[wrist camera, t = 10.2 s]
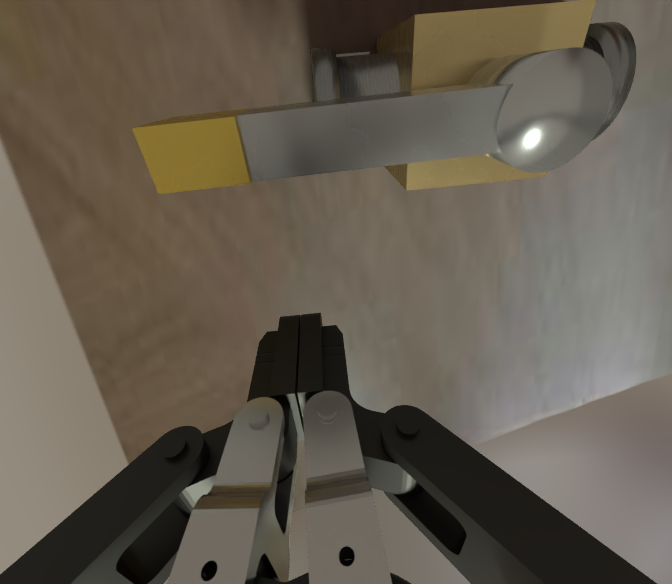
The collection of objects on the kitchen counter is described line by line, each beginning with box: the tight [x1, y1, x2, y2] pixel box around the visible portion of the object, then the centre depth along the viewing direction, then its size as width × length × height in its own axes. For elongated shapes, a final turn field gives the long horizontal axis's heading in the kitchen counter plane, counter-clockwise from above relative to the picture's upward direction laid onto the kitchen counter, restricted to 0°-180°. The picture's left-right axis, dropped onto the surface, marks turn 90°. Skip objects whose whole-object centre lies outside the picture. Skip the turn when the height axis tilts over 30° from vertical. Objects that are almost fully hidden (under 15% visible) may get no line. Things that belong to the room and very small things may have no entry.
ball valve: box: [311, 0, 636, 190], centre depth 15 cm, size 14×6×8 cm, turn 94°
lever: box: [132, 47, 613, 194], centre depth 11 cm, size 14×3×3 cm, turn 95°
